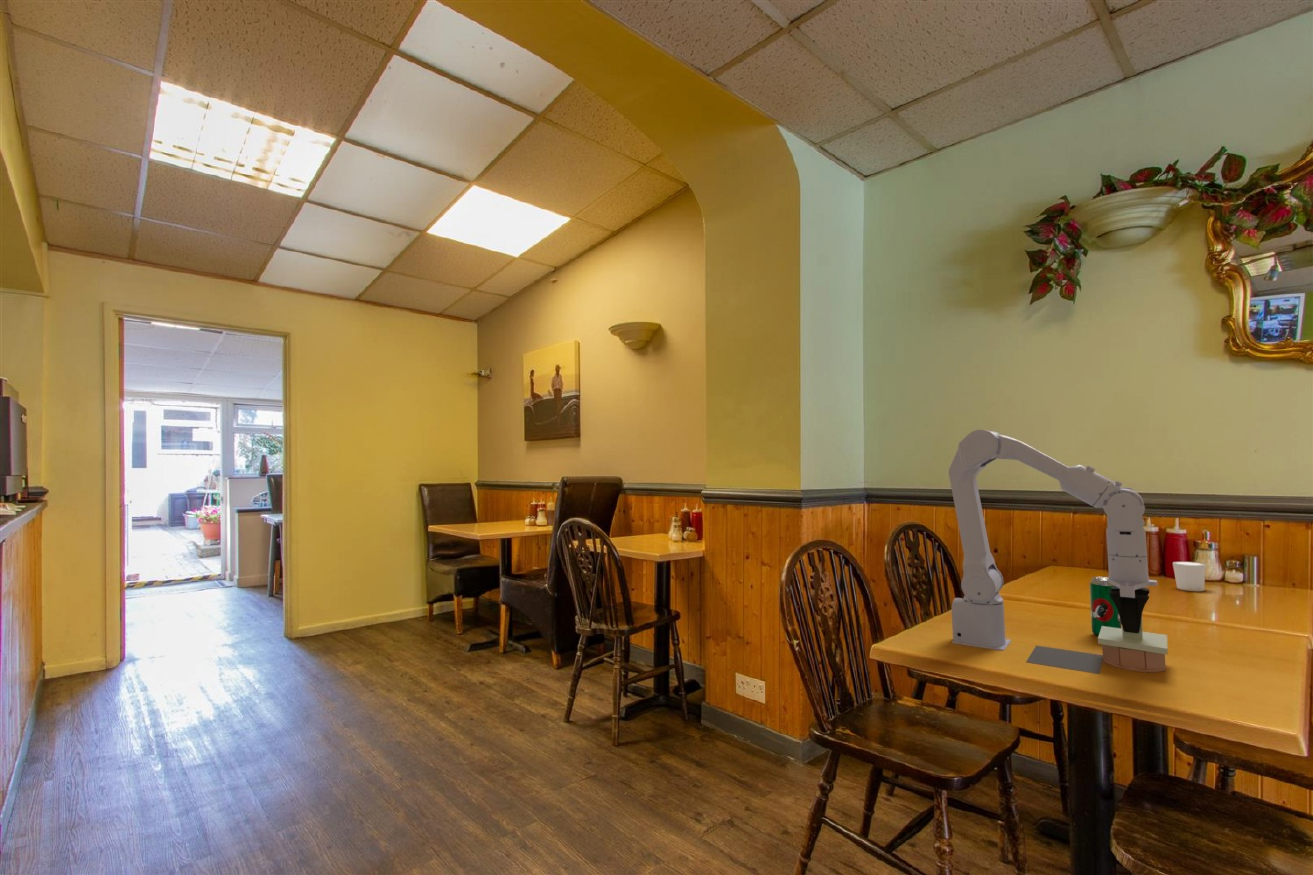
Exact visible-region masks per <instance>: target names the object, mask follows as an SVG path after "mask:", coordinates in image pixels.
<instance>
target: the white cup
mask: <svg viewBox="0 0 1313 875" xmlns="http://www.w3.org/2000/svg"><path fill="white" fill-rule="evenodd" d="M1172 568H1173V573H1174V578H1175V583H1176V588H1177V589H1178V590H1181V591H1189V592H1203V591H1205V581H1206V580H1205V579H1206V564H1205V563H1201V562H1196V561H1195V562H1194V561H1173V562H1172Z"/></svg>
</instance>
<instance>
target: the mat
mask: <svg viewBox="0 0 1313 875" xmlns="http://www.w3.org/2000/svg"><path fill="white" fill-rule="evenodd" d="M1103 661H1104V659H1103V654H1098V653H1097V654H1096V653H1092V652H1082V651H1079V650H1078V651H1077V650H1070V649H1063V648H1058V647H1057V648H1056V647H1050V646H1041V645H1035V646H1034V648H1033V650H1032V652H1031V653H1030V655H1029V656H1028V658H1027V660H1026V661H1025V663H1029V664H1035V665H1040V666H1041V665H1042V666H1048V667H1053V668H1059V669H1064V670H1065V669H1066V670H1072V671H1077V672H1084V673H1091V674H1094V675H1095V674H1097V675H1100V673H1101V669H1102V665H1103Z"/></svg>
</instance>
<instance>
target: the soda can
mask: <svg viewBox="0 0 1313 875" xmlns="http://www.w3.org/2000/svg"><path fill="white" fill-rule="evenodd" d="M1108 577H1109V576H1108ZM1108 577H1107V576H1093V577H1091V580H1090V582H1089V593H1090V594H1089V597H1090V598H1089V599H1090V600H1089V601H1090V618H1091V620H1090V622H1091V633H1092V634H1093V636H1095V637H1098V636H1099V633H1100V630H1101V627H1102V626H1106V627H1113V628H1120V629H1122V624H1121V620H1120V617H1119V613H1118V610H1117V608H1116V605H1115V603H1114V602H1113V600H1112V599H1111V597H1110V595H1109V591H1112V590H1111V587H1116V586H1114V585H1113V584H1111V583H1109V582H1108Z"/></svg>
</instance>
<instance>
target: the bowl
mask: <svg viewBox="0 0 1313 875" xmlns="http://www.w3.org/2000/svg"><path fill="white" fill-rule="evenodd" d="M1101 646H1102V647H1101V648H1102V655H1103V661H1104V662H1105V663H1106V664H1108V665H1110V666H1112V667H1115V668H1119V669H1122V670H1127V671H1133V672H1138V673H1139V672H1140V673H1161V672H1164V671H1165V670H1166V667H1167V666H1166V654H1160V653H1154V652H1147V651H1141V650H1135V649H1128V648H1122V647H1115V646H1109V645H1103V644H1101Z"/></svg>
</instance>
